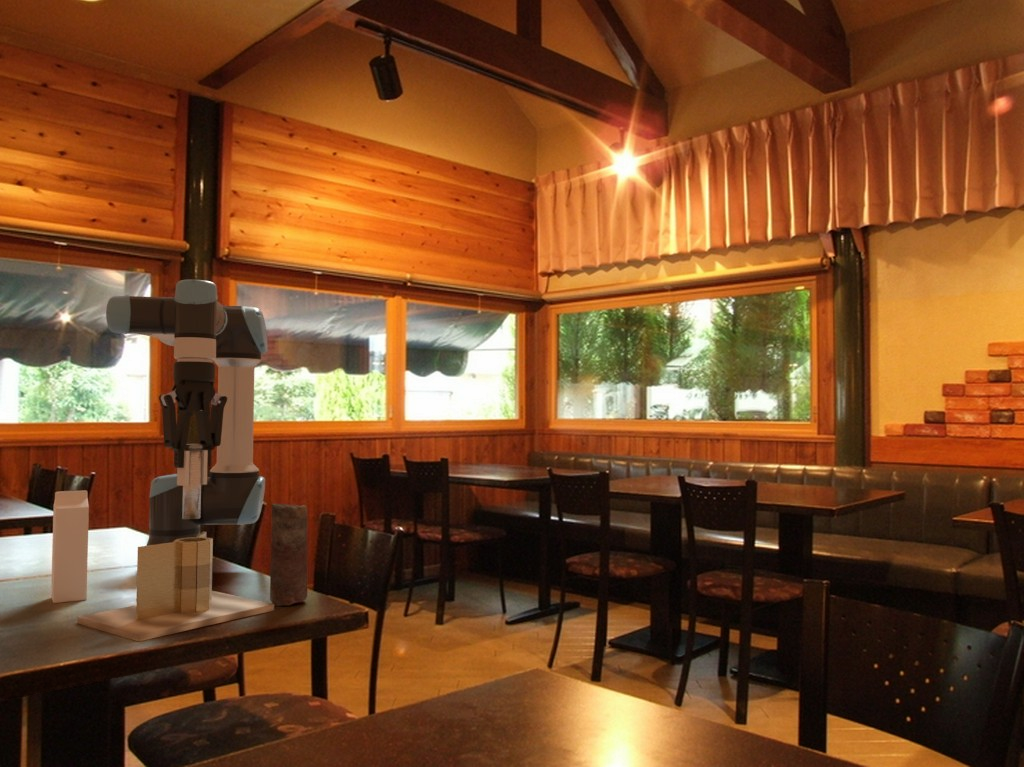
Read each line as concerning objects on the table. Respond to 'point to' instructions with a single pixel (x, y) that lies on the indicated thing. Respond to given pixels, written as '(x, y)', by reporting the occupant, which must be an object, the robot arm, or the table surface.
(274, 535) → the candle
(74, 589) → the milk
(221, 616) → the board
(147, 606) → the hinge
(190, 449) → the hinge pin
